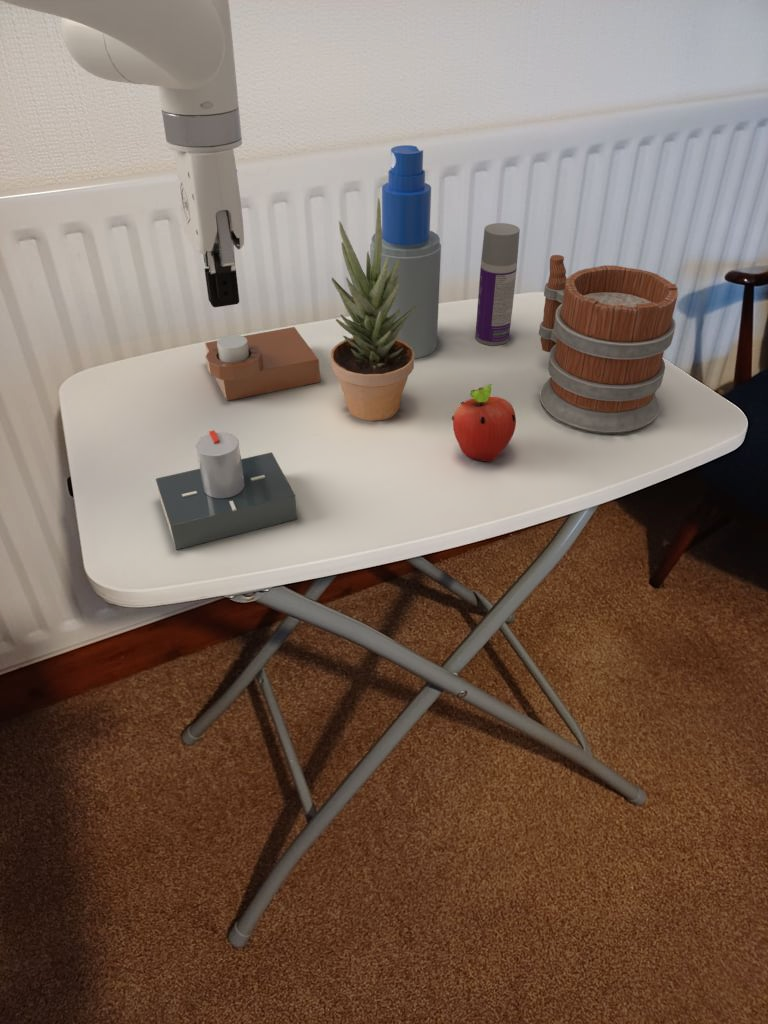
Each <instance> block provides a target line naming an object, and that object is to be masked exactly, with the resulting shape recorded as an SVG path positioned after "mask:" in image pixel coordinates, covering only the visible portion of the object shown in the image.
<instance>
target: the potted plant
mask: <svg viewBox="0 0 768 1024" xmlns="http://www.w3.org/2000/svg"><path fill="white" fill-rule="evenodd" d="M375 219H376V220H375V232H374V234H375V244H374V255H373V262H372V268H371V262H370V252H366V261H365V262H366V263H365V264H366V265H365V266H366V268H365V269H366V270H365V271H366V272H365V271H364V270H363V268H362V266H361V263H360V261H359V259H358V257H357V254H356V252H355V250H354V248H353V245H352V243H351V241H350V239H349V236H348V235H347V233H346V230H345V228H344V226H343V224H342V222H341V221H340V220H338V227H339V234H340V237H341V240H342V242H341V251H342V255H343V259H344V262H345V266H346V270H347V272H348V274H349V275H348V276H349V278H350V279H349V278H348V277H347V276H346V277H345V280H346V284H347V287H348V290H349V293H348V291H347V290H345V289H344V288H343V287H342V286H341V285H340V284H339V283H338V282H337V281H336V280H335V278H333V277H331V282H332V284H333V285H334V287H335V289H336V291H337V292H338V294H339V296H340V299H341V300H342V303H343V305H344V307H345V309H346V311H347V312H348V314H349V316H350V318H351V319H348V318H346V316H344V315H343V314H340V318H341V320H343V322H342V321H341V320H340V319H339V318H336V319H335V322H336V323H337V324H338V325H339V326H340V327H341V328H342V329H344V330H345V331H346V332H347V333H349V334H350V335H351V337H350V338H349V337H348V336H345V335H342V337H343V338H344V340H342V341H340V342H339V343H337V344H336V345H335V346H334V347H333V348H332V349H331V352H330V366H331V369H332V372H333V374H334V375H335V376H336V377H337V379H338V382H339V385H340V388H341V391H342V394H343V396H344V400H345V402H346V405H347V409H348V411H349V413H350V414H351V415H352V416H353V417H355V418H358V419H359V420H362V421H363V420H364V421H370V422H374V421H383V420H388V419H390V418H392V417H394V416H395V415H396V414H397V413H398V410H399V409H400V407H401V400H402V397H403V392H404V389H405V387H406V384H407V381H408V378H409V376H410V375H411V374H412V372H413V370H414V367H415V359H414V353H413V350H412V348H411V347H410V346H409V345H408V344H407V343H406V342H404V341H402V340H400V339H397V338H396V337H397V336H398V332H399V331H400V329H401V328H402V327H403V325H404V323H405V321H406V320H407V317H408V316H409V315H410V314H411V313H412V312H413V311H414V310H415V309H416V308H417V307H418V306H419V304H417V305H416V306H415V307H414V308H413V309H411V310H410V311H409V312H407V313H406V314H405V315H403V316H402V317H401V318H399V319H398V320H397V321H396V322H394V321H395V319H396V318H397V316H398V315H399V313H400V311H401V310H400V309H399V310H398V311H397V312H396V313H394V314H393V315H391V316H390V317H387V314H388V312H389V310H390V308H391V306H392V304H393V302H394V300H395V298H396V295H397V292H398V288H399V283H398V276H397V277H396V275H397V271H398V268H399V261H400V259H399V258H398V260H397V261H396V263H395V264H394V266H393V268H392V270H391V272H390V273H389V275H388V276H387V270H388V264H389V263H388V262H389V255H388V256H387V258H386V261H385V263H384V266H383V268H382V271H381V258H382V208H381V200H380V197H378V198H377V206H376V218H375ZM380 273H381V274H380ZM386 276H387V278H386ZM396 285H397V286H396ZM393 322H394V323H393ZM392 323H393V324H392Z"/></svg>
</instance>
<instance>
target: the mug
mask: <svg viewBox="0 0 768 1024" xmlns="http://www.w3.org/2000/svg"><path fill="white" fill-rule="evenodd" d="M564 260H565V256H563V255H561V254H553V255H551V256H550V258H549V276H548V281H547V282H546V283H545V284H544V289H543V296H544V297H545V299H544V307H543V317H542V318H543V319H542V321H541V322H540V323H539V328H538V336H539V337H540V345H541V350H542V351H543V352H546V353H549V359H548V365H547V371H548V375H549V376H550V377H549V378H548V379H547V381H546V382H545V383H544V385H543V386H542V388H541V390H540V393H539V398H540V402H541V404H542V406H543V407H544V409H545V410H546V411H547V412H548V413H549V414H550V415H551V416H552V417H553V418H554V419H556V420H558V421H559V422H560V423H562V424H565V425H567V426H568V427H571V428H575V429H578V430H579V431H584V432H589V433H596V434H607V435H608V434H609V435H610V434H613V435H614V434H624V433H629V432H634V431H636V430H639V429H641V428H644V427H645V426H647V425H649V424H650V423H651V422H653V421H654V420H655V419H656V418H657V416H658V415H659V412H660V402H659V400H658V397H657V394H656V392H657V391H658V389H660V388H661V385H662V383H663V379H664V374H665V372H666V371H665V370H666V362H665V361H664V359H663V358H664V354H665V351H667V350H668V348H669V347H671V345H672V342H673V338H674V334H675V330H676V321H675V318H674V317H673V316H674V313H675V312H674V311H675V308H676V304H677V300H678V296H679V291H678V289H679V288H678V286H677V284H676V283H672V282H671V281H669V279H666V278H665V277H664V276H661V275H659V274H657V273H654V272H651V271H649V270H643V269H638V268H632V267H625V266H619V265H609V264H607V265H604V264H603V265H600V266H595V267H594V266H593V267H589V268H584V269H580V270H578V271H576V272H574V273H572V274H571V275H569V276H568V277H567V276H566V275H567V269H566V266H565V261H564Z"/></svg>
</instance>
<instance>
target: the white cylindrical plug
mask: <svg viewBox="0 0 768 1024" xmlns="http://www.w3.org/2000/svg"><path fill="white" fill-rule="evenodd" d="M244 336H245V335H241V334H228V335H225V336H222V337H220V338H219V339H218V340H216V341H217V347H218V354H219V359H220V360H221V361H223V362H233V363H234V362H240V361H243V360H245V359H247V358H249V349H248V341H247V339H246V338H245V337H244Z"/></svg>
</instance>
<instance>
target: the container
mask: <svg viewBox="0 0 768 1024" xmlns="http://www.w3.org/2000/svg"><path fill="white" fill-rule="evenodd" d="M520 230H521V229H520V227H518V226H517V225H515V224H512V223H505V222H495V223H490V224H487V225H485V227H484V230H483V240H482V251H481V258H480V259H481V260H480V270H479V281H478V294H477V295H478V296H477V309H476V324H475V336H474V337H475V340H476V341H477V342H479V343H481V344H482V345H487V346H500V345H501V346H502V345H505V344H506V343H508V342H509V340H510V335H511V326H512V317H513V309H514V308H513V306H514V297H515V288H516V279H517V270H518V258H519V257H518V256H519V245H520V234H521V233H520V232H521V231H520Z"/></svg>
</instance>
